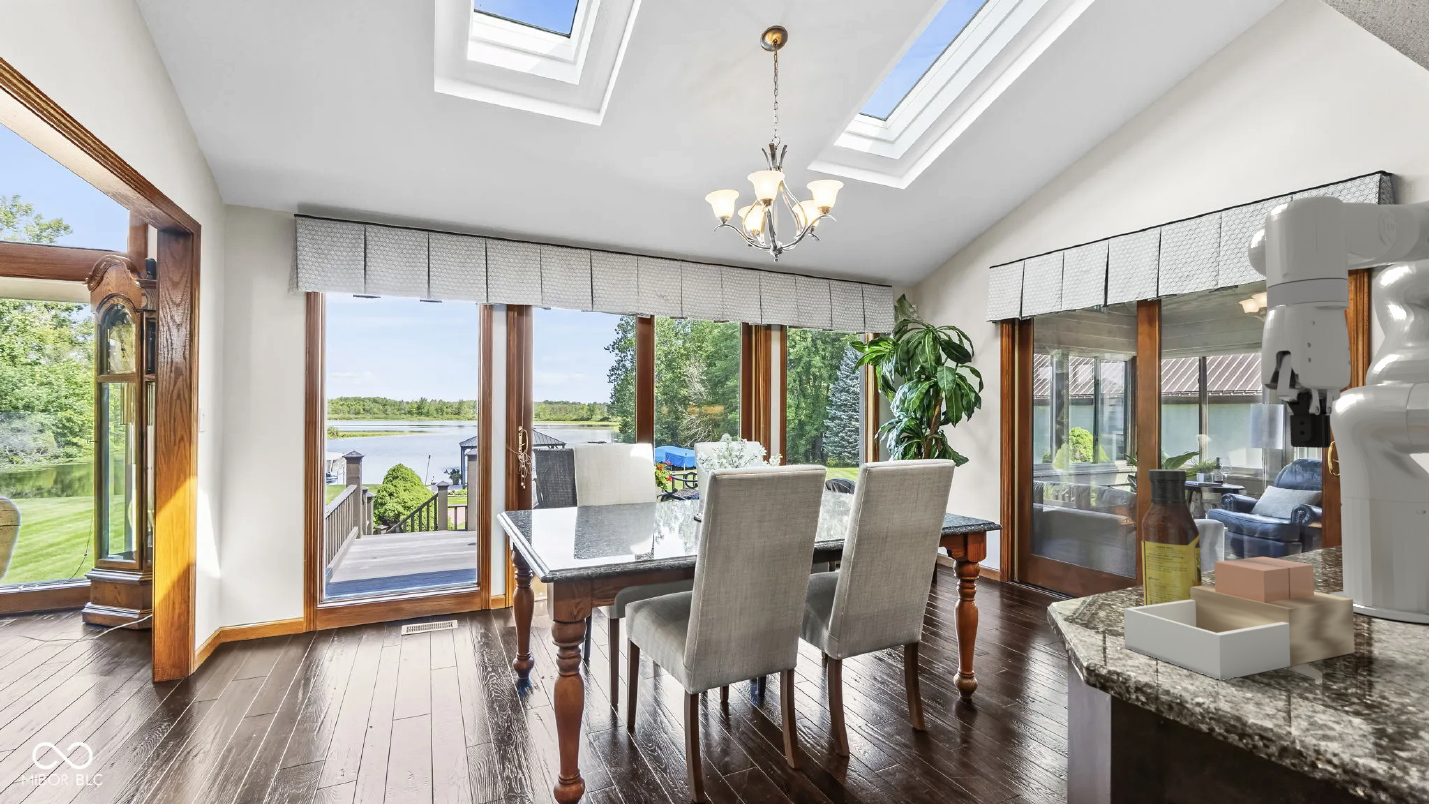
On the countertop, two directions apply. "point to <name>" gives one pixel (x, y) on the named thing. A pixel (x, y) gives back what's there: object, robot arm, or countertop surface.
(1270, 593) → the block
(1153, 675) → the countertop surface
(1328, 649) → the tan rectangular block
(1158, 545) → the sauce bottle
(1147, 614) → the box
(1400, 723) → the countertop surface
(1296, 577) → the block
